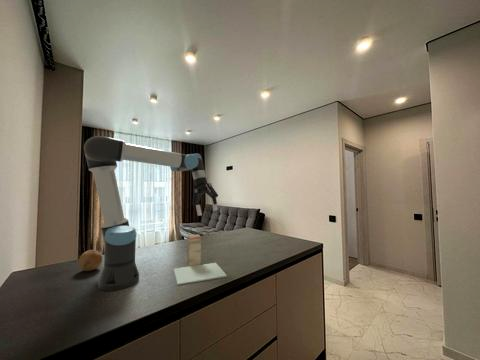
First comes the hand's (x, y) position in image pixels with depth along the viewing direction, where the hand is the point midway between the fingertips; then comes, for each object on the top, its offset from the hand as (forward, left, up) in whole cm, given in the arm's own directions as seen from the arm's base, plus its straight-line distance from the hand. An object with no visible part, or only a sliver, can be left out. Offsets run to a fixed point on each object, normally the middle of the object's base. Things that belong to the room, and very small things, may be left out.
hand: (207, 213), depth 119 cm
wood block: (-9, 0, -27) cm, 28 cm away
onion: (-49, +31, -27) cm, 64 cm away
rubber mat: (-15, -12, -27) cm, 33 cm away
